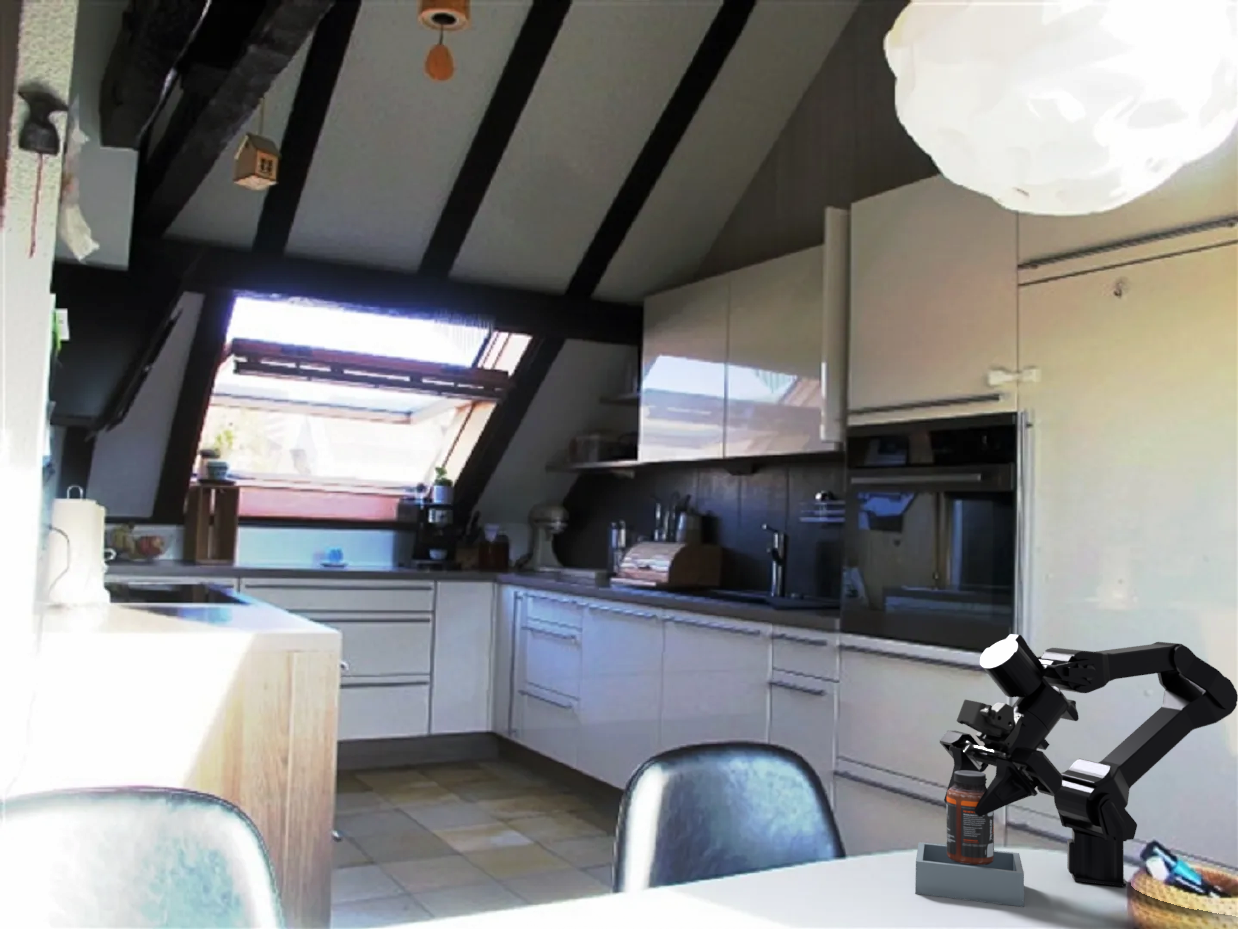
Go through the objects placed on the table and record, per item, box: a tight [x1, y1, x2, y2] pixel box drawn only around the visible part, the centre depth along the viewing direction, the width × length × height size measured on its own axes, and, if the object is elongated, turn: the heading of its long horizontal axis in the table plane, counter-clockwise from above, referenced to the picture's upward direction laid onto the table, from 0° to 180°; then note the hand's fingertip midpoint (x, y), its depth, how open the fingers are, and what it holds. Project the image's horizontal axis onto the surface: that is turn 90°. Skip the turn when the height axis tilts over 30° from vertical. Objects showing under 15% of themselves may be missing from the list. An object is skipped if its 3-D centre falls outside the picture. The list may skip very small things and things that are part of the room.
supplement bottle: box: [946, 770, 995, 865], centre depth 143 cm, size 6×6×11 cm
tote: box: [914, 841, 1025, 908], centre depth 142 cm, size 13×11×4 cm
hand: (961, 808), depth 143 cm, fingers closed on supplement bottle, 6 cm apart
